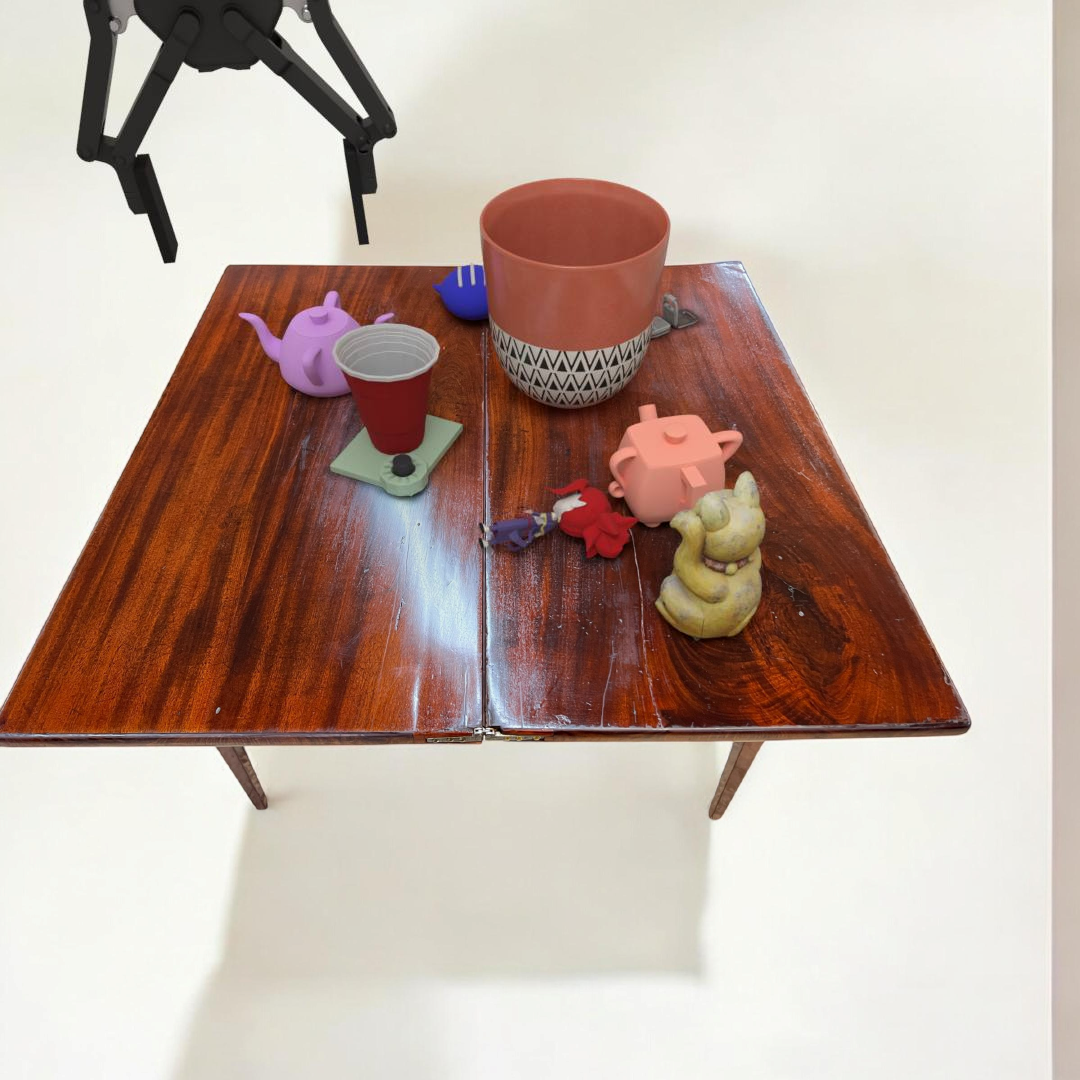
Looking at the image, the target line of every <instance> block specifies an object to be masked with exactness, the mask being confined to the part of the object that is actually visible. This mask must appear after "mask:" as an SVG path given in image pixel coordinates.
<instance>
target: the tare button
mask: <svg viewBox="0 0 1080 1080" xmlns="http://www.w3.org/2000/svg"><path fill="white" fill-rule="evenodd" d="M392 462H393V469H394V473H395V475H397V476H399V477H407V476H409V475H411V474H412V472H413V465H412V458H411V457H410V456H409V455H407V454H399V455H397V456H395V457H394V458H393V460H392Z"/></svg>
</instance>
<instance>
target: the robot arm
mask: <svg viewBox="0 0 1080 1080" xmlns="http://www.w3.org/2000/svg"><path fill="white" fill-rule="evenodd" d="M82 7H83V11H84V16H85V19H86V24H87V29H88V33H89V37H90V38H89V39H90V40H89V48H88V56H87V62H86V71H85V79H84V87H83V95H82V102H81V109H80V118H79V124H78V132H77V139H76V141H77V142H76V147H75V148H76V149H75V151H76V155H77V156H78V158H80V160H82V161H83V162H85V163H93V162H95V161H96V162H99V163H102V164H103V163H104V164H107V165H108V166H110V167H111V168H112V169H113V170H114V171H115V173H116V175H117V178H118V181H119V184H120V187H121V190H122V192H123V195H124V198H125V201H126V204H127V206H128V209H129V210H130V211H131V212H132V214H133V215H134V216H135V215H137V216H138V215H146V216H147V218H148V221H149V225H150V227H151V229H152V232H153V235H154V239H155V242H156V244H157V247H158V251H159V253H160V256H161V259H162V262H163V264H165V265H167V264H175V263H176V261H177V255H178V249H179V243H178V239H177V235H176V233H175V230H174V227H173V223H172V221H171V218H170V214H169V212H168V208H167V206H166V205H167V204H166V203H165V199H164V196H163V193H162V189H161V186H160V184H159V181H158V177H157V174H156V171H155V168H154V165H153V162H152V159H151V156H150V153H139V154H138V151H139V148H140V147H141V145H142V143H143V141H144V139H145V137H146V135H147V133H148V131H149V129H150V127H151V125H152V123H153V121H154V119H155V117H156V115H157V113H158V111H159V109H160V107H161V105H162V103H163V102H164V99H165V97H166V95H167V93H168V91H169V89H170V87H171V86H172V84H173V83H174V81H175V79H176V77H177V75H178V73H179V71H180V70H181V67H182V65H183V64H184V65H186V66H188V67H190V68H191V69H195V70H197V72H198V73H199V74H201V73H212V72H215V71H218V70H221V69H223V68H224V69H225V68H226V69H230V70H235V71H247V70H249V71H250V70H251V67H253V66H255V65H256V64H257V63H259V62H261V63H263V64H264V65H265V66H266V67H267V68H268V69H269V70H270V71H271V72H272V73H273V74H274V75H276V76H277V77H280V78H281V79H283V80H284V81H285V82H286V83H287V84H288V85H289V86H290V87H291V88H292V89H293V90H294V91H295V92H296V93H297V94H298V95H299V96H301V97H302V99H304V100H305V101H306V102H307V103H308V104H309V105H310V106H311V107H312V108H313V109H315V111H317V113H318V114H320V115H321V116H322V117H323V118H324V119H325V120H326V121H327V122H328V123H329V124H330V125H331V126H332V127H333V128H334V129H335V130H337V131H338V132H339V133H340V135H342V136H343V138H342V146H343V152H344V160H345V166H346V172H347V179H348V185H349V192H350V197H351V203H352V210H353V216H354V223H355V230H356V235H357V241H358V246H365V245H370V238H369V233H368V226H367V220H366V219H367V218H366V211H365V204H364V199H363V196H364V195H376V193H377V190H378V179H377V171H376V166H375V158H374V148H375V146H376V144H378V143H379V142H381V141H382V140H384V139H386V140H390V139H393V138H394V137H396V135H397V134H398V127H397V122H396V118H395V114H394V111H393V110H392V108H391V106H390V105H389V103H388V101H387V100H386V98H385V96H384V95H383V93H382V92H381V90H380V88H379V87H378V85H377V83H376V82H375V80H374V78H373V76H372V75H371V73H370V72H369V70H368V69H367V67H366V65H365V64H364V62H363V60H362V59H361V57H360V56H359V54H358V52H357V51H356V49H355V47H354V46H353V44H352V43H351V41H350V39H349V38H348V36H347V34H346V33H345V31H344V30H343V28H342V26H341V24H340V23H339V21H338V19H337V18H336V15H334V13H333V11H332V7H331V3H330V0H82ZM284 8H289V9H292V10H293V11H294V12H295V14H296V15H297V17H298V18H299V19H300V21H302V22H303V23H306V24H312V25H313V27H314V30H315V32H316V34H317V36H318V38H319V40H320V41H321V43H322V45H323V47H324V48H325V49H326V51H327V52H328V54H329V56H330V57H331V59H332V61H333V62H334V64H335V65H336V67H337V68H338V70H339V72H340V73H341V74H342V76H343V78H344V79H345V81H346V83H347V84H348V86H349V87H350V89H351V90H352V92H353V94H354V95H355V96H356V98H357V99H358V102H359V103H360V104H361V106H362V107H363V109H364V111H365V113H366V114H367V115H368V116H366V117H365V118H363V117H362V115H360V113H359V112H358V111H356V110H355V109H354V108H353V106H351V105H350V104H349V103H348V102H347V101H346V100H345V99H344V98H343V97H342V96H341V95H340V94H339V93H338V92H337V91H336V90H335V89H334V88H333V87H332V86H331V85H330V84H329V83H328V82H327V81H326V80H325V79H323V77H322V76H321V75H320V74H318V73H317V72H316V70H314V69H313V67H312V66H311V65H309V64H308V63H307V62H306V61H305V60H304V59H303V58H302V57H301V56H300V55H299V54H298V53H297V52H296V51H295V50H294V49H293V47H292V46H291V44H290V43H289V42H288V41H287V39H285V38H284V36H282V34H280V33H279V32H278V31H277V29H276V28H277V25H278V23H279V20H280V18H281V15H282V13H283V10H284ZM133 16H137V17H138V19H139V20H140V21H141V22H142V24H143V25H145V27H147V29H149V30H150V31H151V32H152V33H153V34H154V35H155V36H156V37H157V38H158V39H159V40H160V41H161V45H160V46H159V49H158V51H157V53H156V55H155V58H154V60H153V62H152V64H151V66H150V68H149V70H148V72H147V74H146V76H145V78H144V80H143V83H142V85H141V86H140V88H139V91H138V93H137V95H136V96H135V99H134V101H133V103H132V105H131V107H130V109H129V111H128V113H127V115H126V117H125V119H124V121H123V124H122V125H121V127H120V130H119V132H118V134H117V135H116V137H115V136H110V135H106V134H105V128H106V120H107V116H108V115H107V114H108V108H109V107H108V106H109V101H110V94H111V87H112V80H113V74H114V66H115V60H116V53H117V48H118V47H117V46H118V37H119V35H122V34H124V33H125V32H126V30H127V28H128V26H129V20H130V18H131V17H133Z"/></svg>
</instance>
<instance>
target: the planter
mask: <svg viewBox="0 0 1080 1080" xmlns="http://www.w3.org/2000/svg"><path fill="white" fill-rule="evenodd" d="M478 223H479V236H480V237H479V238H480V248H481V256H482V257H481V258H482V266H484V275H485V286H486V296H487V305H488V313H489V317H488V322H489V330H490V335H491V340H492V345H493V348H494V351H495V354H496V357H497V359H498V362H499V363H500V366H501V368H502V370H503V372H504V374H505V375H506V376H507V377H508V379H509V381H510V382H512V384H513V385H514V386H515V387H517V389H518V390H519V391H520V392H522V393H523V394H525V395H526V396H528V397H529V398H531V399H532V400H535V401H537V402H539V403H541V404H543V405H546V406H550V407H553V408H559V409H565V410H566V409H570V410H573V409H574V410H575V409H583V408H587V407H590V406H591V407H592V406H595V405H597V404H601V403H602V402H604V401H607V400H608V399H609V398H612V397H613V396H615V395H616V394H618V393H619V392H620V391H622V389H624V388H625V387H626V386H627V385H628V384H629V383H630V382H631V380H632V379H633V378H634V377H635V375H636V374H637V372H638V371H639V369H640V367H641V365H642V363H643V362H644V361H643V360H644V359H645V356H646V353H647V351H648V348H649V345H650V341H651V339H652V338H651V334H652V329H653V324H654V318H655V317H656V312H657V307H658V303H659V298H660V291H661V285H662V279H663V275H664V269H665V265H666V259H667V254H668V247H669V241H670V235H671V227H672V226H671V223H672V222H671V219H670V216H669V214H668V212H667V211H666V209H665V208H664V207H663V206H662V204H660V203H659V201H657V200H656V199H655V198H653V197H651V196H650V195H648V194H646V193H644V192H642V191H640V190H638V189H636V188H633V187H631V186H627V185H625V184H621V183H618V182H613V181H608V180H602V179H596V178H584V177H560V178H557V177H556V178H548V179H547V178H546V179H539V180H535V181H530V182H527V183H523V184H520V185H517V186H513V187H511V188H508V189H506V190H504V191H502V192H501V193H499V194H497V195H495V196H493V198H491V199H490V201H488V203H486V205H485V206H484V207H483V208H482V211H481V213H480V216H479V222H478Z"/></svg>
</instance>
